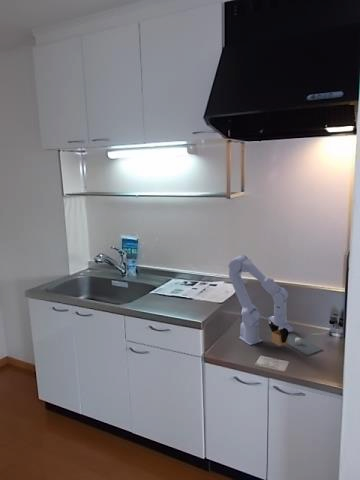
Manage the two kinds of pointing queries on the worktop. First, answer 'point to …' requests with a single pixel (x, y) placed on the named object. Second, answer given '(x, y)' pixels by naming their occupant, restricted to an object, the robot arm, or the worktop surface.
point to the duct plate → (302, 345)
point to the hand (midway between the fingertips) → (279, 339)
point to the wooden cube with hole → (278, 338)
